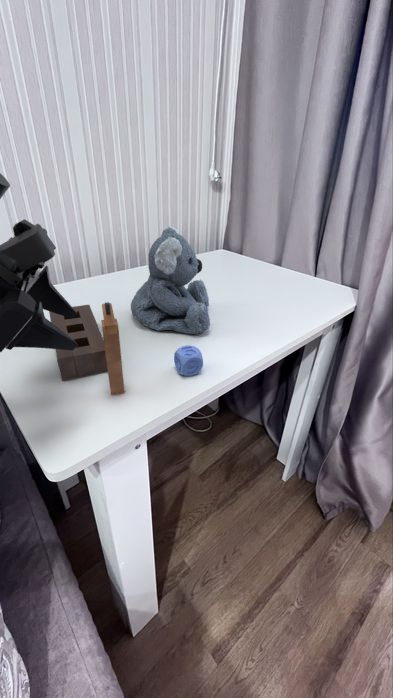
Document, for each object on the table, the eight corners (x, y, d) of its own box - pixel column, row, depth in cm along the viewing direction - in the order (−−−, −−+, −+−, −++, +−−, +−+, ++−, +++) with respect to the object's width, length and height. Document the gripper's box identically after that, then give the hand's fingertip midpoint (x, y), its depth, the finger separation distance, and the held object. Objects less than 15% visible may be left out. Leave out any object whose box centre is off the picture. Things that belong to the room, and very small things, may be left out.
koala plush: (210, 338, 69) (217, 243, 59) (124, 335, 69) (115, 239, 58) (208, 303, 84) (213, 222, 73) (137, 300, 83) (131, 219, 73)
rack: (62, 381, 55) (56, 359, 53) (53, 329, 70) (48, 309, 67) (110, 371, 58) (107, 349, 56) (92, 323, 73) (89, 304, 70)
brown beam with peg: (112, 405, 51) (100, 315, 43) (108, 378, 57) (97, 293, 48) (126, 402, 52) (118, 313, 43) (121, 376, 57) (113, 292, 49)
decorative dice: (193, 361, 62) (194, 343, 60) (202, 373, 59) (204, 354, 57) (173, 365, 60) (173, 347, 58) (181, 378, 57) (182, 359, 55)
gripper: (-21, 220, 29) (120, 320, 37) (11, 189, 43) (107, 266, 52) (-90, 311, 31) (59, 385, 40) (-37, 252, 46) (63, 316, 54)
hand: (75, 330), depth 46 cm, fingers open, 9 cm apart
